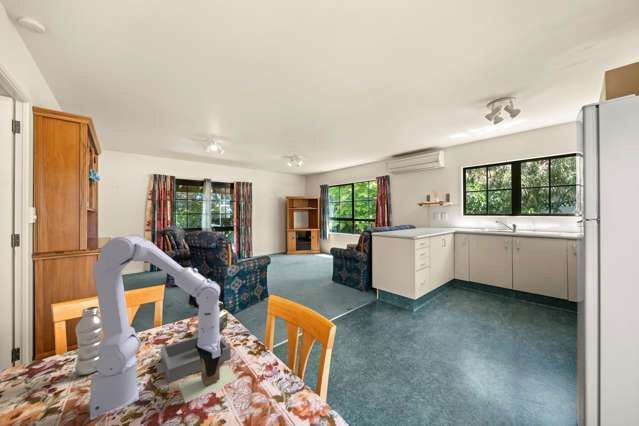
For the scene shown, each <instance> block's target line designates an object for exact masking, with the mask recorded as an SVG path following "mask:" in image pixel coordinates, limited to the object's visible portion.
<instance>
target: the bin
mask: <svg viewBox="0 0 639 426" xmlns="http://www.w3.org/2000/svg"><path fill="white" fill-rule="evenodd" d="M197 342H198V335H197V336H193V337H191V338H186V339H184V340H181V341H178V342H174V343H170V344H167V345H164V346H161V347H160V361H161V364H162V366H163V369H164V372H165V376H166V379H167V382H168V384H171V383H173V382H177V381H178V380H181V379H184V378H186V377H189V376H191V375H194V374H197V373H199V372H201V360H200V356H199V353H198V350H197V349H196V347H195V345H197ZM220 348H222V349H223V353H222V355H221V357H220V364H222V363H224V362H227V361H230V360H231V357H232V356H231V346H230V344H228V342H226V340H225V339H224V338H223V339H222V340H220Z"/></svg>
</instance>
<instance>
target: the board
mask: <svg viewBox="0 0 639 426" xmlns="http://www.w3.org/2000/svg"><path fill="white" fill-rule="evenodd" d="M235 381H238V377H237V375H236V374H235V373H234V372H233V371H232V369H231V367H230V366H229V365H228V364H226V365H223V366H220V380H218V381H215V382H213V383H211V384H208V385H206V386H205V385H204V383H203V381H202V379H201V375H199V376H196V377H193V378H192V379H189V380H187V381H184V382H181V383H179V384H178V387H179V390H180V393H181V396H182V398H183V400H184V403H185V404H187V403H189V402H191V401H193V400H195V399H198V398H200V397H202V396H205V395H206V394H208V393H211V392H213V391H215V390H217V389H220V388H222V387H224V386H226V385H228V384H230V383H232V382H235Z"/></svg>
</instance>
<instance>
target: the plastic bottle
mask: <svg viewBox="0 0 639 426" xmlns="http://www.w3.org/2000/svg"><path fill="white" fill-rule="evenodd" d="M99 313H100V310H99V306H90V307H85V308H84V309H82V312H81V317H82V318H81V319H80V320H79V321H78V322H77V324H76V325H75V326H76V327H75V328H74V329H75V330H74V331H75V335H76V341H77V356H76V362H75V367H74V370H75V374H77V375H79V376H87V375H89V374H93V373H96V372H98V371H97V369H96V362H97V359H98V357H99V352H98V349H99V346H100V344H101V342H102V339H103V327H102V321H101V315H99Z"/></svg>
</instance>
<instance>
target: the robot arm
mask: <svg viewBox="0 0 639 426" xmlns="http://www.w3.org/2000/svg"><path fill="white" fill-rule="evenodd" d="M131 261H132V262H148V263H150V264H152V265H153V266H155V267H156V268H158V269H160V270H161V271H163V272H165V273H166V274H168V275H169V276H171V277H172V278H173V279H174V284H175V285H176V286H177V287H179V288H180V289H181V290H183V291H184V292H186V293H187V294H189V295H191V296H192V297H193V298H195V302H196V305H198V312H197V313H198V314H197V317H198V318H197V324H198V325H197V331H198V332H197V336H198V342H197V345H195V347H196V349H197V350H198V353H199V356H200V360H201V363H202V358H203V360H204V363H205V369H206V374H207V377H210V376H213V375H215V373H216V369H217V365H218V362H219V359H220V357H221V355H222V353H223V349H222V348H220V340H222V339H223V340H224V336H223V334H220V333H219V310H220V309H219V302H220V300H219V299H220V295H221V287H220V285H219V284H218V283H217V281H214V280H211V279H210V278H206V277H205V276H203V275H202V274H201V273H199V269H197V268H196V267H194V268H192V267H189V266H188V267H183V266H182V265H180V264H179V263H178V262H177V261H175V260H174V259H172V257H171V256H169V255H167V254H166V253H165V252H164V251H163V250H162V249H160V248H159V247H158V246H156V245H155V244H154V243H153V242H152V241H150V240H148V239H146V238H145V237H144V236H142V235H140V234H131V235H127V236H117V237H113V238H112V239H110V240H109V241H107V242H106V243H105V244H104V245H102V246H101V247H100V255H99V256H98V258H97V260H96V262H95V265H94V267H93V275H94V281H95V289H96V295H97V300H98V301H97V302H98V309H99V313H100V315H99V316H100V317H101V321H102V327H103V332H102V335H103V336H102V339H101V340H102V342H101V344H100V346H99V349H98V352H99V357H98V359H97V362H96V369H97V371H96V372H95V373H94V374H92V375H91V377H90V378H91V380H90V392H89V393H90V397H89V400H88V408H90V409H89V420H90V421H92V420H96V419H97V418H99V416H102V415H104V414H107V413H110V412H112V411H114V410H117V409H120V408H123V407H125V406H127V405H130V404H132V403H134V402H137V401H139V400H140V394H139V387H138V382H137V380H138V379H137V377H138V376H137V375H138V374H137V372H138V371H137V368H138V367H137V366H138V361H137V360H138V359H137V355H136V354H137V352H138V351H139V350H140V348H141V345H142V344H141V343H142V342H141V339H140V338H139V336H138V335H137V333H136V329H135V327H132V326H130V320H129V319H130V318H129V314H128V307H127V300H126V299H127V298H126V294H125V288H124V287H125V286H124V282H123V280H124V279H123V274H122V271H123V269H125V267H127V266H128V264H130V262H131Z"/></svg>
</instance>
